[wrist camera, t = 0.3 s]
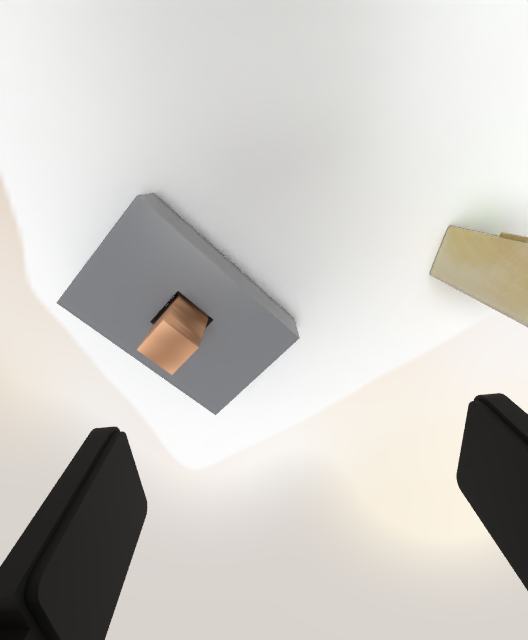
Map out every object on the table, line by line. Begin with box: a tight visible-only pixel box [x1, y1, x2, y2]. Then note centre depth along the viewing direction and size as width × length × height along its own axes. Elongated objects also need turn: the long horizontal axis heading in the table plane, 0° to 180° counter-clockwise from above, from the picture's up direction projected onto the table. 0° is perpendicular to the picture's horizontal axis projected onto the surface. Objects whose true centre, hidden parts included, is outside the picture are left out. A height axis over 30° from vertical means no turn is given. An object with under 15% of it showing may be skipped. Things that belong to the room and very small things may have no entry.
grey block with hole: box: [57, 193, 299, 415], centre depth 43 cm, size 24×16×6 cm, turn 47°
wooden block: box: [137, 292, 209, 375], centre depth 39 cm, size 4×4×13 cm
